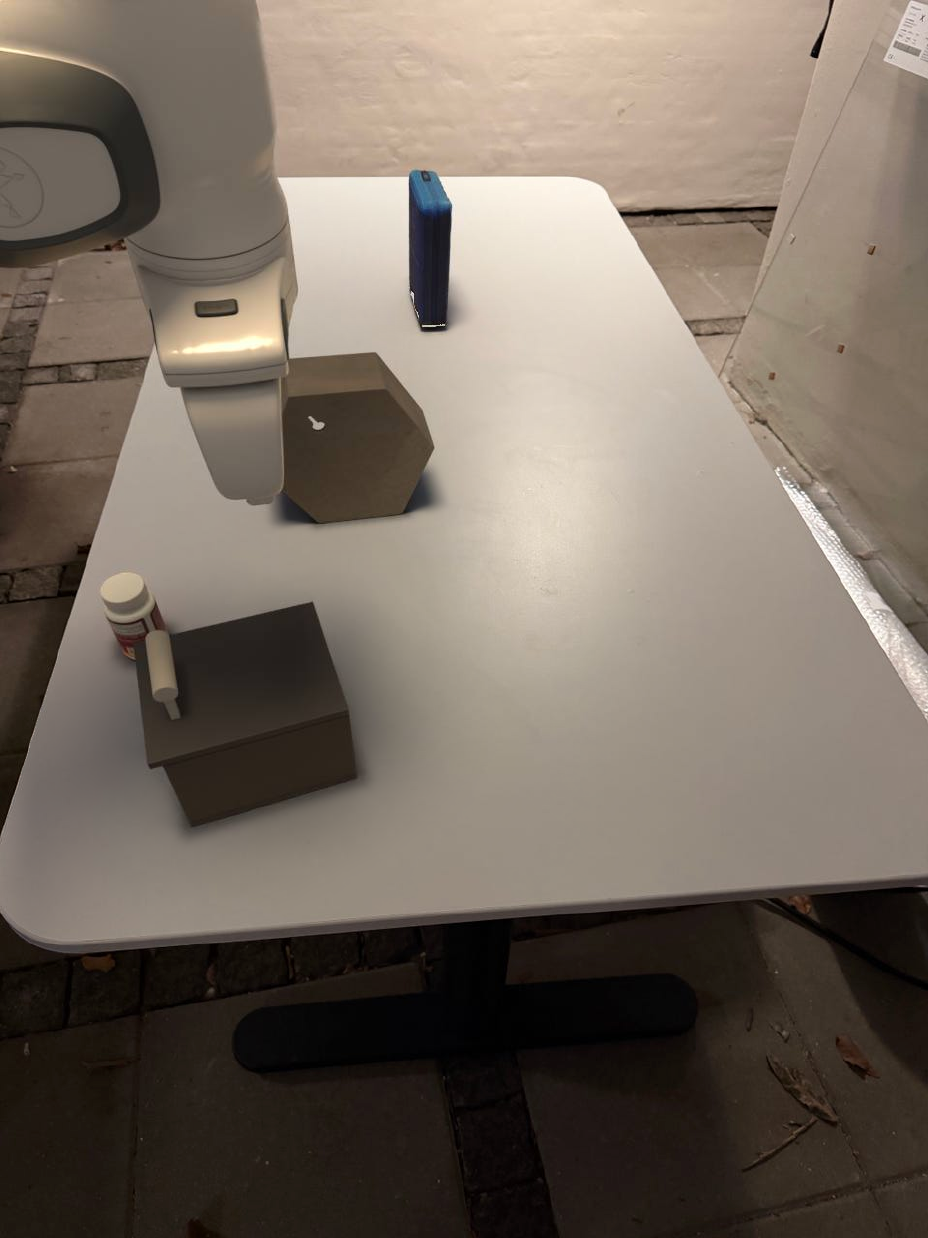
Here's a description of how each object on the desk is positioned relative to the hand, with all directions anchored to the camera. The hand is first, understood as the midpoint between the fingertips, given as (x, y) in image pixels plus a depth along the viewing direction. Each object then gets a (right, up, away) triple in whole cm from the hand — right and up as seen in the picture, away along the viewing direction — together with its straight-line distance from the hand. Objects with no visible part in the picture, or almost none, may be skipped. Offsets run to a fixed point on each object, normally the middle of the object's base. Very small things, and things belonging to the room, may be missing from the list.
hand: (255, 449), depth 55 cm
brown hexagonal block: (+1, +3, +41) cm, 41 cm away
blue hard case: (+9, +39, +75) cm, 85 cm away
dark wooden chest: (-4, -24, +17) cm, 29 cm away
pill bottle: (-18, -15, +24) cm, 34 cm away
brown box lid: (-4, -17, +9) cm, 20 cm away
